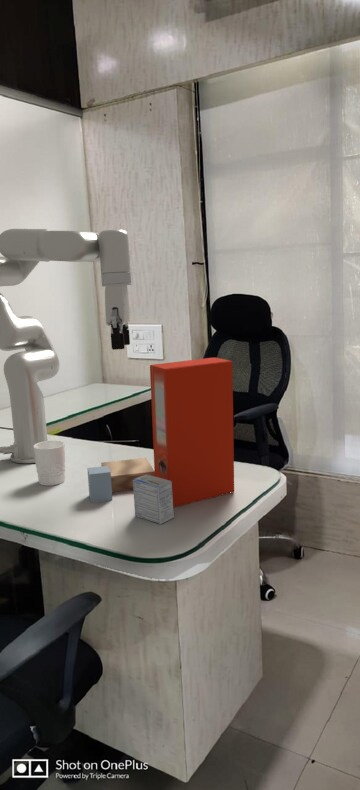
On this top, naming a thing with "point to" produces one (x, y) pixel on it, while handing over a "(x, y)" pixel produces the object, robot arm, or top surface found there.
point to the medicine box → (153, 498)
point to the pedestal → (127, 472)
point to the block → (99, 484)
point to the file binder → (193, 427)
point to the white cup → (50, 462)
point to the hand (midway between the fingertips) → (121, 347)
